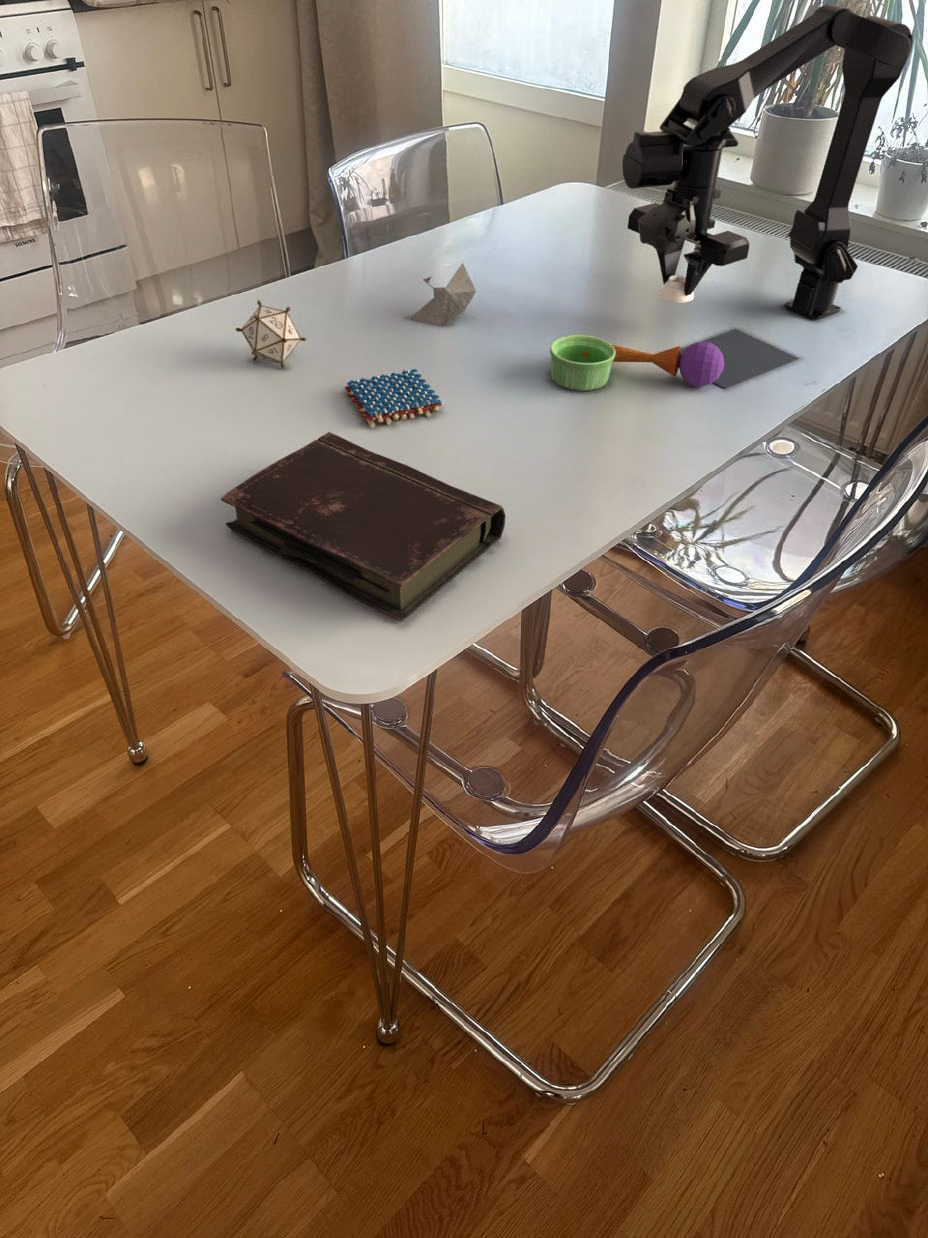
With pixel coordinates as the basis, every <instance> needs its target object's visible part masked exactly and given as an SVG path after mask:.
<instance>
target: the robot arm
mask: <svg viewBox="0 0 928 1238" xmlns="http://www.w3.org/2000/svg"><path fill="white" fill-rule="evenodd" d="M913 45H914V35H913V34H912V32H911V29H910V27H909V26H907V25H906V24H904V23H901V22H898V21H894V20H890V19H888V18H883V17H880V16H877V15H873V14H872V15H867V16H865V17H864V16H860V15H858V14H856V13H854V12H853V11H852V10H851V9H849V8H847V7H843V6H841V5H837V4H833V3H826V4H824V5H821V6H819V7H818V8H817V9H816V10H815V11H814V13H813V14H811V15H809V16H808V17H807V18H805V19H804V20H802V21H800V22H798V24H796V25H794V26H793V27H791V28H789V29H788V30H787V31H785V32H784V33H782V34H780V35H779V36H777V37H776V38H774V39H772V40H771V41H770V42H768V43H766V44H765V45H763V46H762V47H760V48H759V49H757V50H756V51H754V52H752V53H751V54H749V55H747V56H746V57H744V58H743V59H741V60H739V61H737V62H734V63H732V64H728V65H722V66H718V67H714V68H712V69H710V70H707V71H705V72H702V73H700V74H698V75H696V76H694V77H691V79H689V81H687V82H686V83H685V84H684V86H683V89H682V93H681V96H680V98H679V99H678V100H677V102H676V103H675V104H674V106H673V108H672V109H671V110H670V112H669V113H668V114H667V116H666V117H665V119H664V120H663V121H662V123H661V124H660V126H659V130H660V131H659V130H658V131H644V130H641V131H640V130H639V131H635V132H634V133H633V139H632V141H631V142H630V143H629V144H628V145H627V148H626V150H625V153H624V154H623V156H622V175H623V180H624V183H625V184H626V186H627V187H628V189H632V190H633V189H644V188H654V187H664V186H665V187H666V186H671V185H672V184H673V186H671V187H668V188H666V189H667V190H666V192H665V193H664V198H663V202H662V203H657V202H652V203H649V204H645V205H642V206H638V207H634V208H633V209H632V211H631V212H630V213H629V215H628V219H627V229H628V230H630V231H632V232H635V233H637V234H639V242H640V243H642V244H643V245H649V246H651V247H653V248H654V249H655V251H656V255H657V257H658V262H659V266H660V267H659V268H660V272H661V278H662V284H663V285H664V284H665V283H666V282H667V281H668V279H669V277H670V276H673V275H676V272H677V269H678V267H679V266H678V265H679V262H680V259H681V255H682V252H683V248H684V245H685V241H687V242H689V243H692V244H694V248H693V251H691V252H688V253H685V254H683V257H684V259H685V261H686V262H687V266H686V273H685V277H686V279H685V285H684V293H685V296H688V295H691V294H692V292H693V293H694V291H695V289H696V288H697V287H698V286H699V283H700V282H701V280H702V279H703V278H704V276H705V275H706V274H707V272H708V270H709V269H710V268H711V267H712V265H714V266H716V267H724V266H727V265H728V266H729V265H731V264H734V263H737V262H740V261H743V260H746V259H748V256H749V255H748V254H749V250H750V242H749V240H748V238H747V237H745V236H743V235H740V234H737V233H735V232H733V231H730V230H726V231H722V232H719V233H715V234H712V233H709V232H708V230H712V229H715V224H716V220H715V219H713V218H711V215H712V209H713V204H714V200H715V199H720V198H721V193H722V190H721V189H719V188H717V182H718V176H719V171H720V167H721V160H722V155H723V150H724V149H725V148H736V147H738V146H739V140H738V138H737V139H736V137H735V136H734V135H733V133H732V130H731V128H730V127H731V126H732V125H733V124H734V123H735V122H736V121H737V120H739V119H740V118H741V117H742V116H743V115H744V114H746V112H747V111H748V109H749V108H750V106H751V104H752V103H753V101H754V100H755V99H756V98H757V97H758V96H760V95H761V94H762V93H763V92H764V91H766V90H767V89H769V88H771V87H772V86H774V85H775V84H777V83H779V82H780V81H781V80H782V81H783V79H785V78H786V77H788V76H790V75H791V74H792V73H795V72H796V71H797V70H799V69H800V68H802V67H804V66H805V65H806V64H809V63H810V62H812V60H814V59H816V58H818V57H819V56H820V55H822V54H823V53H825V52H827V51H828V50H831V48H833V47H835V46H837V47H840V48H841V49H844V51H843V58H842V64H841V70H842V77H843V78H842V79H843V85H844V95H843V99H842V103H841V106H840V109H839V112H838V116H837V120H836V123H835V126H834V130H833V133H832V137H831V140H830V143H829V144H830V145H829V147H828V151H827V155H826V158H825V160H824V165H823V168H822V172H821V175H820V179H819V181H818V186H817V189H816V193H815V196H814V198H813V200H812V201H811V203H810V204H809V205H808V206H807V207H806V208H805V209H804V210H802V209H797V210H796V211H795V213H794V216H793V217H794V218H793V223H792V225H791V226H792V227H791V229H790V231H789V233H788V235H787V237H788V238H789V239H790V241H789V247H790V249H791V251H792V252H793V257H794V258H793V259H794V263H795V264H797V265H799V266H801V267H802V268H803V269H802V271H801V273H800V276H799V279H798V283H797V284H796V285H797V286H796V288H795V293H794V297H793V299H792V300H789V301H787V302H785V303H784V305H783V307H784V308H786V309H789V310H790V311H793V312H795V313H798V314H800V315H803V316H804V317H807V318H809V319H811V320H814V321H818V320H820V319H823V318H826V317H828V316H831V315H833V314H836V313H838V312H840V311H841V307H840V306H838V305H836V304H834V302H835V299H836V296H837V291H838V288H839V284H842V283H843V282H845V281H850V280H851V279H852V278H853V277H854V274H855V273H856V271H857V269H858V264H857V263H856V261H855V260H854V258H853V257H852V255H851V253H850V251H849V250H848V248H849V242H850V237H851V232H852V226H851V225H852V224H851V217H850V211H849V207H850V206H849V205H850V201H851V198H852V194H853V192H854V188H855V186H856V182H857V179H858V175H859V172H860V169H861V166H862V163H863V159H864V156H865V153H866V150H867V146H868V143H869V141H870V136H871V134H872V131H873V128H874V124H875V121H876V118H877V114H878V112H879V108H880V105H881V102H882V99H883V97H884V96H885V95H886V94H887V93H888V91H890V89H891V88H892V87H893V86H894V84H896V83H897V81H898V80H899V79H900V78H901V77H900V76H901V75H902V73H903V70H904V68H905V66H906V64H907V61H908V60H909V57H910V55H911V53H912V49H913ZM686 122H688V123H690V124H692V125H694V127H693V128H692V127H690V126H689V125H687V124H686Z"/></svg>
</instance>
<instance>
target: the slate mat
mask: <svg viewBox="0 0 928 1238" xmlns="http://www.w3.org/2000/svg"><path fill="white" fill-rule="evenodd" d="M701 342H709V343H711V344H713V345H715V346H717V347H718V348H719V350H720V351H721V353H722V354H723V359H724V368H723V371H722V373H721V374H720V376H719V378H718V379H717V380H715V381H714V382H713V383H712V384H715V385H717V386H718V387H720V388H722V389H724V390H726V389H728V388H730V387H734V386H735V385H738V384H741V383H743V382H746V381H748V380H750V379H752V378H755V377H757V376H760V375H762V374H765V373H768V372H770V371H773V370H774V369H778V368H779V367H782V366H784V365H787V364H789V363H792V362H794V361H797V360H799V357H797V356H796V355H793V354H791V353H788V352H786V351H785V350H782V349H780V348H778V347H775V346H773V345H771V344H769V343H767V342H765V341H762V340H760V339H758V338H756V337H754V336H752V335H750V334H748V333H745V332H744V331H741V330H739V329H736V328H734V329H730V330H729V331H727V332H724V333H721V334H718V335H715V336H712V337H710V338H708V339H707V338H706V339H705V340H702V341H701ZM689 346H690V345H688V346H686V347H683V348H681V355H682V353H683V352H684V350H685V349H686V348H687V347H689Z"/></svg>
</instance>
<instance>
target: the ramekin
mask: <svg viewBox="0 0 928 1238" xmlns="http://www.w3.org/2000/svg"><path fill="white" fill-rule="evenodd" d="M612 345H613V344H612ZM612 345H611V343H610V342H608V341H606V340H605V339H603V338H599V337H597V336H592V335H586V334H585V335H584V334H571V335H565V336H562V337H559V338H556V339H555V340H554V341H552V342H551V344H550V346H549V354H550V365H551V366H550V375H551V379H552V380H553V381H554V382H555V383H556V384H557V385H559V386H560V387H563V388H564V389H565V388H566V389H568V390H572V391H573V390H574V391H582V392H583V391H585V392H586V391H593V390H597V389H600V388H602V387H603V386H605V385H606V384H607V383H608V381H609V379H610V374H611V371H612V370H611V369H612V365H613V362H612V361H613V360H614V357H615V349H614V347H613V346H612ZM583 352H587V353H589V356H588V357H582V353H583Z"/></svg>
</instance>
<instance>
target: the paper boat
mask: <svg viewBox="0 0 928 1238" xmlns="http://www.w3.org/2000/svg"><path fill="white" fill-rule="evenodd" d="M432 277H433V275H432V276H428V277H425V278H423V279H422V281H423V283H425V284H427V285H428V286H429V287H430V288H432V289H433V290H432V291H433V297H432V298H431V299H430V300H429V301H428V302H427V303H426V304H425V305H423V306H422V307H421V308H420V309H418V310H417V311H416V312H415V313H414V314H413V315H411V316H410V317H409V320H415V321H419V322H423V323H428V324H433V325H437V326H441V327H442V326H444V325H446V324H448V323H450V322H452V321H453V320H454V319H456V318H457V317H458V316H460V315H461V314H463V313H464V312H465V311H466V309H467V308H468V306H469V304H470V303H471V301H472V300H473V298H474V296H475V295H476V291H477V289H476V287H475V285H474V283H473V281H472V279H471V277H470V275H469V273H468V271H467V268H466V266H465V264H464V262H462V263H460V266H459V267H458V268H457V270H456V271H455V273H454V274H453V276H452V277H451V278H450V280H449V282H448V283H447V284H446V285H445V287H444V286H443V287H433V286H432V285H431V284H430V283H429V282H430V281H431V279H432Z"/></svg>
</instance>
